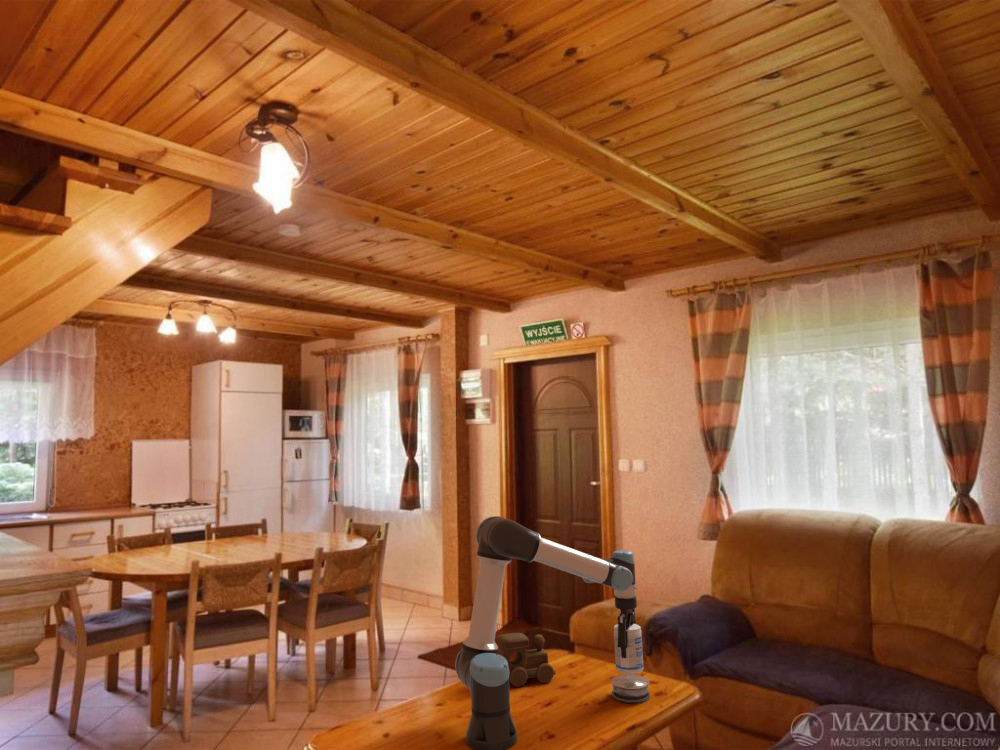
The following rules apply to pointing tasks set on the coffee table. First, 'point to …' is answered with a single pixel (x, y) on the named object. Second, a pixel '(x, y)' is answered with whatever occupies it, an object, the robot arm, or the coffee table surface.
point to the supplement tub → (630, 650)
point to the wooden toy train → (525, 658)
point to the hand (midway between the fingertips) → (629, 662)
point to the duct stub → (630, 689)
